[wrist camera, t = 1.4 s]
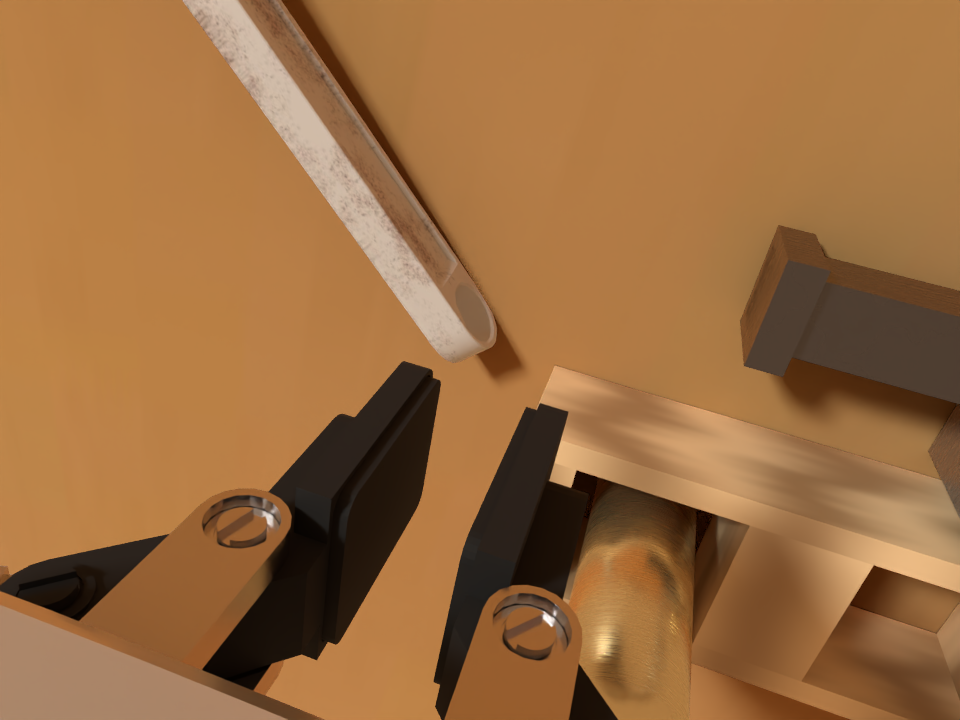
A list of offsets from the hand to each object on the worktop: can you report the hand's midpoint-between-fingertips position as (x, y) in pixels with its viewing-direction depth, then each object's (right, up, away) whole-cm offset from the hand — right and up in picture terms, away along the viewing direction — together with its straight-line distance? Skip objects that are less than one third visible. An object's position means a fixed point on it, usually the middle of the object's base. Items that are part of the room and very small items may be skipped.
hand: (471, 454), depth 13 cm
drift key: (+14, +3, +11) cm, 18 cm away
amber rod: (+7, -3, +17) cm, 19 cm away
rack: (+12, -5, +16) cm, 21 cm away
